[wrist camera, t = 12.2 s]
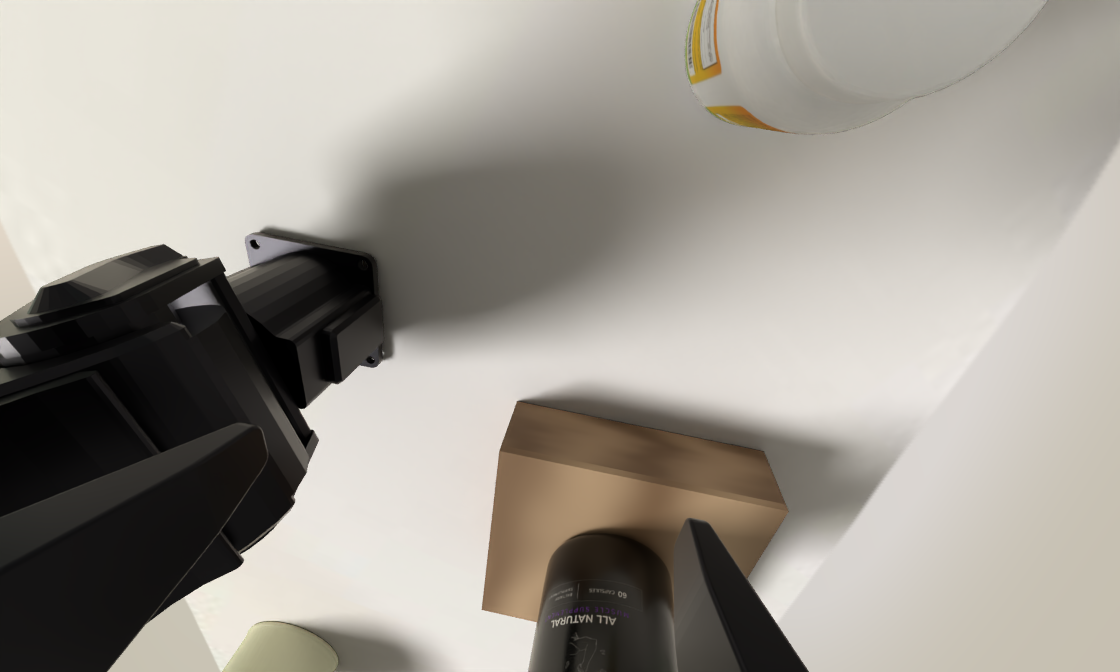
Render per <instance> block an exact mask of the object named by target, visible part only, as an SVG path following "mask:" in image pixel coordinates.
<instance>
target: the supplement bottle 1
mask: <svg viewBox="0 0 1120 672" xmlns="http://www.w3.org/2000/svg"><path fill="white" fill-rule="evenodd" d="M528 672H678V669H677V659H676V650H675V638H674V601H673V592H672V582H671V577H670V573H669V571H668V569H667V567H666V565H665V563H664V562H663V561H662V559H661V558H660V557H659V556H658V555H657V554H656V553H655V552H654V551H653V550H651V549H650V548H649V547H647V546H646V545H644V544H642V543H640V542H638V541H636V540H634V539H631V538H628V537H625V536H621V535H616V534H608V533H592V534H585V535H581V536H577V537H575V538H572V539H570V540H568V541H566V542H565V543H563V544H562V545H561V546H559V547H558V548H557V549H556V550H555V552H554V553H553V554H552V556H551V558H550V560H549V563H548V567H547V571H546V576H545V581H544V586H543V592H542V597H541V603H540V608H539V614H538V619H537V625H536V630H535V636H534V641H533V647H532V652H531V658H530V664H529V669H528Z"/></svg>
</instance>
